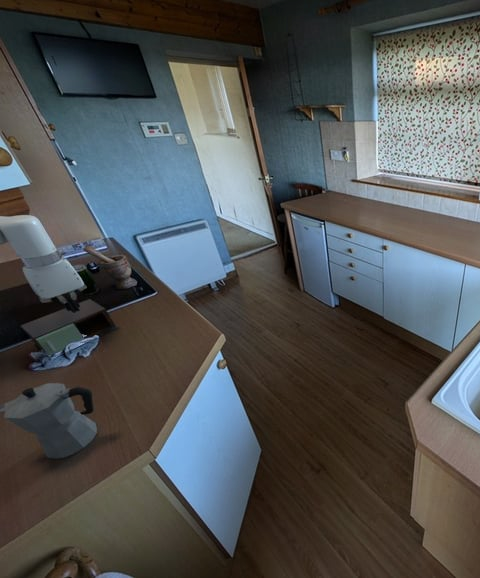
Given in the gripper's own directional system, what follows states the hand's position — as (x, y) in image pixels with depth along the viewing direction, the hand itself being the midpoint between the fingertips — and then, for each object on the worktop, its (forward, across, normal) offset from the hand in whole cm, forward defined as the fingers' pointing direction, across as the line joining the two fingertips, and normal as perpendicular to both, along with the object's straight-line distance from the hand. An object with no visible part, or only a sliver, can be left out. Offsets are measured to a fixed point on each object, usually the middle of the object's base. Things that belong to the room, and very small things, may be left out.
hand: (75, 310), depth 94 cm
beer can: (+12, -13, -37) cm, 41 cm away
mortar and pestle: (+12, -22, -31) cm, 40 cm away
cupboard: (+12, +2, -6) cm, 14 cm away
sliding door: (+11, +6, 0) cm, 13 cm away
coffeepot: (+12, +18, +41) cm, 46 cm away
